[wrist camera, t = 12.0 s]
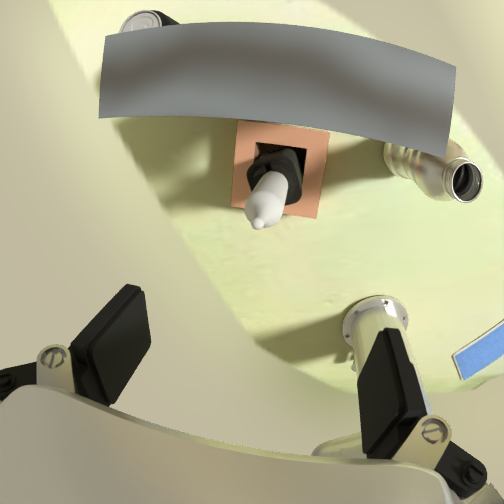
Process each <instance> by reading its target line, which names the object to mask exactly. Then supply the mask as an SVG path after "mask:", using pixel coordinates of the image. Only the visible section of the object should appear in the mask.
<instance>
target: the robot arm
mask: <svg viewBox="0 0 504 504" xmlns="http://www.w3.org/2000/svg"><path fill="white" fill-rule="evenodd" d="M407 326H408V314H407V311H406V309H405V307H404V305H403V304H402V303H401V302H400V301H398V300H397V299H395V298H392V297H389V296H374V297H370V298H367V299H364V300H362V301H360V302H359V303H357V304H356V305H354V306H353V307H352V308H351V309H350V310H349V311H348V313H347V314H346V316H345V318H344V320H343V324H342V333H343V337H344V339H345V341H346V342H347V344H348V345H349V346H351V347H352V348H353V350H354V357H355V360H354V362H353V364H352V366H351V369H352V370H353V371H355V372H357V388H358V398H359V409H360V421H361V432H358V433H355V434H352V435H348V436H345V437H341V438H338V439H334V440H330V441H327V442H324V443H322V444H320V445H319V446H317V447H316V448H315V449H314V451H313V452H312V454H311V456H308V455H298V454H289V453H281V452H274V451H267V450H261V449H255V448H249V447H244V446H238V445H233V444H229V443H224V442H219V441H215V440H210V439H207V438H202V437H199V436H195V435H191V434H187V433H184V432H180V431H177V430H173V429H169V428H167V427H163V426H160V425H157V424H154V423H151V422H148V421H145V420H142V419H139V418H136V417H134V416H131V415H128V414H126V413H123V412H120V411H117V410H115V409H112V408H110V407H109V406H110V405H111V404H114V403H115V402H116V401H117V399H118V397H119V396H120V394H121V392H122V391H123V389H124V388H125V386H126V384H127V383H128V381H129V379H130V378H131V376H132V375H133V373H134V371H135V370H136V368H137V367H138V365H139V363H140V362H141V360H142V359H143V357H144V356H145V354H146V353H147V351H148V349H149V348H150V345H151V336H150V330H149V323H148V316H147V310H146V301H145V294H144V291H141V288H140V287H139V286H135V285H130V284H126V285H125V286H124V287H123V288H122V289H121V290H120V291H119V292H118V293H117V294H116V295H115V296H114V297H113V298H112V299H111V300H110V301H109V302H108V303H107V304H106V305H105V307H104V308H103V309H102V310H101V311H100V312H99V313H98V314H97V315H96V316H95V317H94V318H93V319H92V320H91V321H90V323H89V324H88V325H87V326H86V327H85V328H84V329H83V330H82V331H81V332H80V334H79V335H78V336H77V337H76V338H75V339H74V340H73V341H72V342H71V345H70V347H69V348H68V349H67V348H66V347H65V346H63V345H59V344H56V345H50V346H47V347H46V348H44V349H43V350H42V351H41V352H40V353H39V355H38V357H37V362H33V363H29V364H24V365H20V366H15V367H10V368H5V369H3V370H0V504H504V499H503V498H502V497H501V496H500V494H499V493H498V491H497V490H496V489H495V488H494V486H493V485H492V484H491V483H490V484H489V485H488V484H487V483H486V480H487V471H486V468H485V466H484V465H483V464H482V463H481V462H480V461H479V460H477V459H476V458H474V457H473V456H471V455H470V454H468V453H467V452H466V451H464V450H463V449H461V448H460V447H459V446H457V445H456V444H455V443H453V442H452V441H450V439H451V428H450V426H449V424H448V423H447V421H446V420H444V419H443V418H441V417H439V416H436V415H434V414H433V412H432V409H431V407H430V404H429V402H428V399H427V396H426V393H425V390H424V387H423V383H422V380H421V377H420V374H419V370H418V367H417V364H416V361H415V358H414V355H413V352H412V349H411V346H410V343H409V340H408V338H407V335H406V332H405V331H406V329H407Z"/></svg>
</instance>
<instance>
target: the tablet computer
mask: <svg viewBox="0 0 504 504" xmlns="http://www.w3.org/2000/svg"><path fill="white" fill-rule="evenodd" d="M503 355H504V320H503V321H502V322H500V323H499V324H498V325H496V326H495V327H494V328H492V329H491V330H489V331H488V332H486V333H485V334H483V335H482V336H480V337H479V338H477V339H476V340H474V341H473V342H471V343H470V344H468V345H466V346H465V347H463V348H462V349H460V350H458V351H456V352H455V353H454V354H453V359H454V361H455V364H456V366H457V369H458V371H459V374H460V377H461V379H462V380H466V379H467V378H469V377H471V376H472V375H474V374H476V373H477V372H479V371H480V370H482V369H483V368H485V367H486V366H488V365H489V364H491V363H492V362H494V361H495V360H497V359H498V358H500V357H501V356H503Z"/></svg>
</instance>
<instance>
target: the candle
mask: <svg viewBox="0 0 504 504" xmlns="http://www.w3.org/2000/svg"><path fill="white" fill-rule="evenodd" d="M246 176H247V180H248V183H249V186H250V189H251V194H250V195H249V197H248V198H247V200H246V203H245V214H246V217H247V219H248V220H249V221H250V222H251V225H252V227H253V228H254V229H256V230H260V229H262V228H267V227H271V226H273V225H275V224H276V223H277V222H278V221H279V220H280V219H281V217H282V214H283V210H284V206H286V205H290V204H294V203H297V202H298V201H299V200H300V199H301V197H302V168H301V165H300V161H299V158H298V155H297V151H296V149H295V148H294V147H292V146H285V148H282V149H278V150H274V151H271V152H269V151H267V152H265V153H264V154H263V155H262V156H261V157H260V158H259V159H257V160H256V161H255V162H254V163H253V164H252V165H251V166H250V167H249V168H248V170H247V174H246Z"/></svg>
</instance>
